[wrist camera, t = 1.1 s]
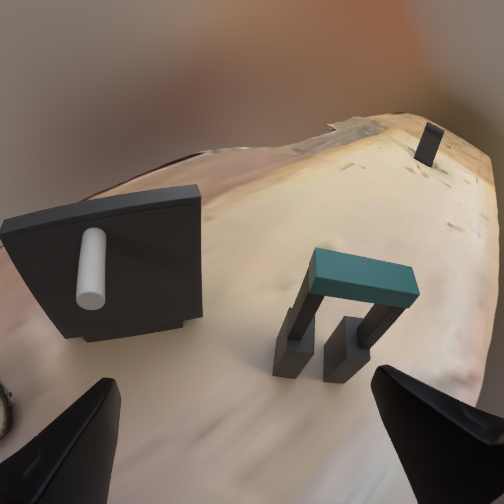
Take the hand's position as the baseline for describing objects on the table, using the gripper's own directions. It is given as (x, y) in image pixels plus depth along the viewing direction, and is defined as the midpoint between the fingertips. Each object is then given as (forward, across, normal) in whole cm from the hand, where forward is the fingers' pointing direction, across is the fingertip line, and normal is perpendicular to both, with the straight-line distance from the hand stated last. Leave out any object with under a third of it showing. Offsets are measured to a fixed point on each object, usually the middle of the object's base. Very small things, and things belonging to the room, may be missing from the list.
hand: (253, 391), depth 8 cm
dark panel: (+16, +9, +9) cm, 21 cm away
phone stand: (+63, -62, -15) cm, 90 cm away
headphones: (+13, -8, +10) cm, 19 cm away
